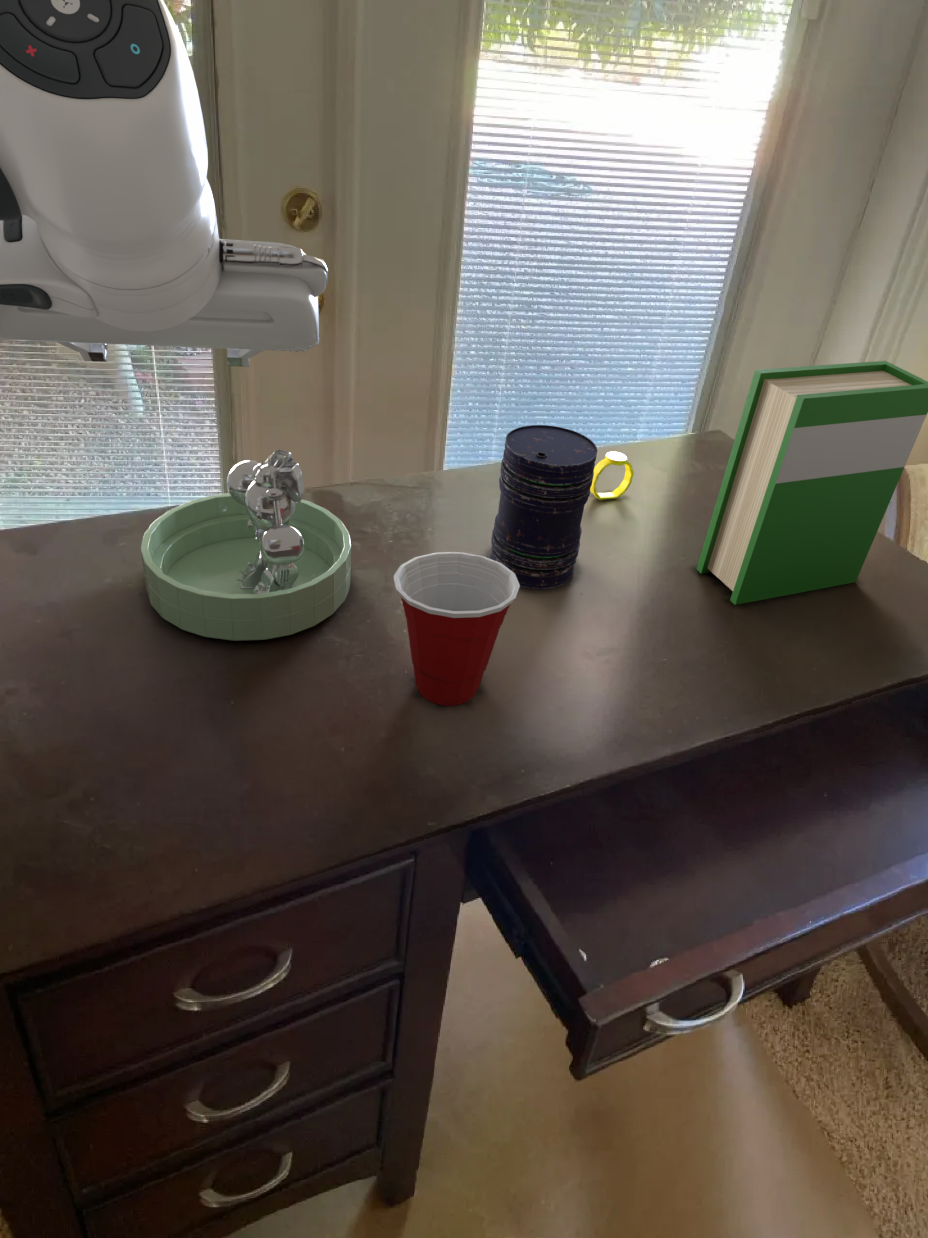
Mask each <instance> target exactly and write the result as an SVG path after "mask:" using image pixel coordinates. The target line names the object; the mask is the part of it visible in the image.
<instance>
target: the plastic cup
mask: <svg viewBox="0 0 928 1238" xmlns="http://www.w3.org/2000/svg"><path fill="white" fill-rule="evenodd" d="M393 581H394V582H393V583H394V587H395V590H396V594H397V595H398V596H399V597H400V600H401V602H402V607H403V610H404V616H405V620H406V621H405V622H406V627H407V635H408V643H409V649H410V651H409V652H410V656H411V663H412V665H413V673H414V681H415V682H414V683H415V686H416V688H417V692H419V694H420V695H421V696H422V698H424V699H425V700H427V701H429V702H430V703H433V704H436V705H440V706H446V707H447V706H459V705H462V704H464V703H465V704H466V703H468V702H469V701H471V700H472V699H473V698H474V697H475V696H476V693H477V692H478V690H479V687H480V686H481V683H482V682H481V681H482V679H483V676H484V673H485V671H486V670H487V666H488V664H489V661H490V658H491V656H492V652H493V650H494V646H495V645H496V641H497V638H498V636H499V632H500V629H501V626H502V625H503V622H504V619H505V617H506V615H507V613H508V610H509V609H510V606H511V605H512V604H513V603H514V602H515V600H516V598H517V595H518V592H519V590H520V588H521V587H520V584H519V582H518V580H517V577H516V575H515V573H513V572H512V571H511V570H510V569H508V568H507V567H506V566H504V565H503V564H502V563H500V562H497V561H494V560H492V559H490V557H486V556H484V555H480V554H474V553H467V552H462V551H441V552H439V551H438V552H437V551H436V552H432V553H428V554H422V555H418V556H415V557H413V558H411V559H409V560H408V561H405V562H403V563H402V564H400V565H399V567H398V568H397V570H396V571H395V573H394V575H393Z"/></svg>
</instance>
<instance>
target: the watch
mask: <svg viewBox="0 0 928 1238" xmlns="http://www.w3.org/2000/svg"><path fill="white" fill-rule="evenodd" d="M611 465H613V466H624V467H625V472H624V477H623V479H622V481H621V482H620V484H619V486H617V488H615V489H613V491H610V492H598V489H597V482H598V480H599V477H600V475H601V474H602V473H603V471H604V470H605V469H606V468H608V467H609V466H611ZM634 473H635V472H634V469H633V465H632V463H630V461H628V457H627V455H625V454H624V453H622V452H619V451H608V452H606V454H605V456H604V458H603V459H601V460H599V461H598V463H597V464H595V466H594V476H593V481H592V486H591V487H590V493H591V494H592V495H593V496H594V497H595V498H596V499H597V500H599V501H602V500H613V499H614V500H615V499H619V498H620V497H622V496H623V495H624V494H625V493H627V491H628V489H629V488H630V486H631V485H632V483H633V478H634Z"/></svg>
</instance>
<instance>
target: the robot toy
mask: <svg viewBox="0 0 928 1238" xmlns="http://www.w3.org/2000/svg"><path fill="white" fill-rule="evenodd" d="M304 485H305V484H304V477H303V472H302V469H301V467H300V465H299V463H298V462H296V461H295V460H294V457H293V454H292V453H291V452H289V451H286V450H283V449H280V448H278V449H275V450H274V452H273V453H270V454H269V455H268V457H267V459H266V460H265V461H264V460H262V461H261V462H260V461H257V460H253V459H246V460H242V461H238V462H237V463H235V464H234V465H233V466H232V468H231V469H230V470H229V472H228V474H227V477H226V488H227V491H228V493H230V495H231V496H232V498H233V499H234V500H235V501H236V502H238V503H240V504H241V505H244V506H245V507H246V512H247V515H248V517H249V521H248V523H247V528H250V527H251V526H252V525H253V526H254V536H255V539H257V540H258V543H260V539H261V551H259V552H258V554H257V556H256V560H255V562H253V563H252V564H249V563H247V564H248V567H247V568H246V570H245V571H241V570H239V572H240V573H241V574H243V575H244V576H243V577H242V578H241V579H237V580H236V581H241V586H240V588H241V589H251V588H254V589H253V591H252V593H251V594H263V593H269V592H274V591H277V590H286V589H290V588H293V587H292V586H291V585H293V584H294V582H295V581H296V579H297V577H298V574H299V570H298V567H297V565H296V564H295V562H296V561H298V560H299V559H300V558H301V556H302V554H303V551H304V541H303V538H302V535H301V534H300V532H299V531H298V530H297V529H296V528H294V527H292V526H288V525H287V524H288V523H289V522H290V520H291V518H292V517H293V516H294V513H295V503H300V502H301V500H302V499H303V496H304V490H305V488H304ZM262 535H263V536H262Z"/></svg>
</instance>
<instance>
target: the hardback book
mask: <svg viewBox="0 0 928 1238" xmlns="http://www.w3.org/2000/svg"><path fill="white" fill-rule="evenodd" d="M751 379H752V380H751V383H750V386H749V389H748V393H747V396H746V401H745V403H744V407H743V409H742V413H741V416H740V420H739V424H738V427H737V430H736V433H735V437H734V441H733V444H732V447H731V451H730V455H729V458H728V462H727V464H726V467H725V471H724V475H723V478H722V482H721V485H720V487H719V492H718V495H717V498H716V502H715V504H714V505H715V506H714V509H713V512H712V515H711V518H710V522H709V526H708V529H707V533H706V536H705V539H704V544H703V546H702V549H701V551H700V552H701V553H700V556H699V560H698V563H697V566H696V571H697V572H698V573H699V574H707V573H712V575H714V576H715V577H716V578H717V579H719V580H720V581H721V582H722V583H723V584H724V585H725V586H726V587H727V588H728V589H729V590H730V591H732V593H731V596H730V599H729V601H730V602H731V603H732V604H733V605H734V606H737V605H743V604H747V603H748V604H749V603H752V602H757V601H758V602H759V601H764V600H769V599H773V598H779V597H783V596H784V597H785V596H789V595H794V594H795V595H796V594H799V593H805V592H811V591H817V590H822V589H826V588H832V587H836V586H837V587H838V586H842V585H848V584H853V583H856V582H857V580H858V578H859V575H860V573H861V572H862V568H863V566H864V564H865V561H866V560H867V557H868V554H869V552H870V549H871V547H872V545H873V543H874V539H875V538H876V536H877V534H878V531H879V529H880V526H881V524H882V521H883V519H884V517H885V515H886V512H887V509H888V507H889V505H890V503H891V500H892V498H893V495H894V493H895V490H896V488H897V486H898V483H899V481H900V479H901V477H902V474H903V471H904V469H905V467H906V464H907V462H908V460H909V457H910V456H911V453H912V451H913V449H914V446H915V444H916V441H917V439H918V436H919V434H920V432H921V430H922V427H923V424H924V422H925V420H926V417H927V415H928V380H925V379H924V378H922V377H920V376H917V375H915V374H913V373H912V372H909V371H907V370H906V369H903V368H901V367H899V366H897V365H896V364H893V363H891V362H889V361H887V360H877V361H862V362H850V363H849V362H848V363H834V364H821V365H806V366H805V365H804V366H789V367H778V368H777V367H775V368H764V369H755V370H754V373H753V376H752V378H751Z"/></svg>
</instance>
